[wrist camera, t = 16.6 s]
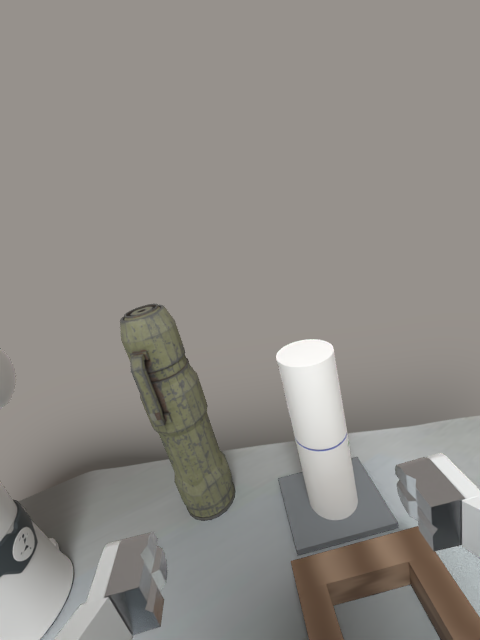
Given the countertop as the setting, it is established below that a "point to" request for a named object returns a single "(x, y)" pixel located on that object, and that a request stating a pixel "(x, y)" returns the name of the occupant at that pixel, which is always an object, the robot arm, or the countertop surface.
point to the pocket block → (382, 584)
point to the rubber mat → (323, 532)
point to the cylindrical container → (319, 426)
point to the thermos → (177, 410)
